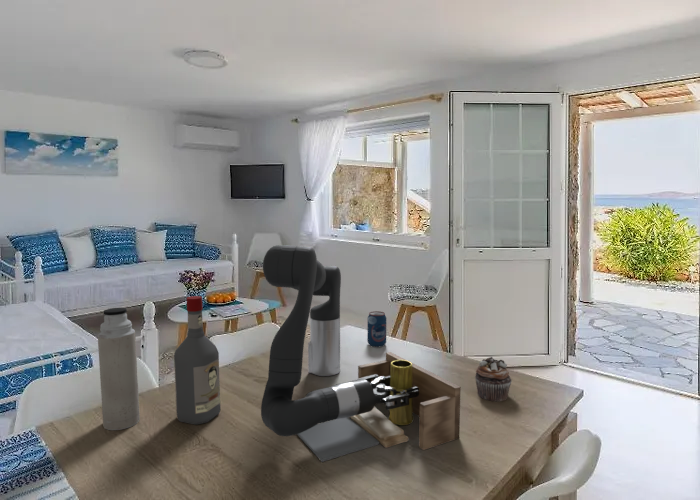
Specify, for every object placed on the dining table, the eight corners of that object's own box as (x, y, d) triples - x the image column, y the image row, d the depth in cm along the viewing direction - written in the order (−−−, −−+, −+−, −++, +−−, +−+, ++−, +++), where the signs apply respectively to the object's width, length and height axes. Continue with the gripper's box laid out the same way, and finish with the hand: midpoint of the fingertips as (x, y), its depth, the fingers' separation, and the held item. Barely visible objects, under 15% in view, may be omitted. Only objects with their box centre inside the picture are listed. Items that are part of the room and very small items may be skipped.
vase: (413, 414, 118) (413, 359, 116) (413, 426, 112) (414, 368, 110) (388, 413, 118) (389, 358, 117) (388, 425, 112) (388, 367, 111)
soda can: (373, 349, 169) (373, 316, 167) (364, 343, 175) (364, 312, 174) (389, 346, 172) (390, 314, 171) (380, 341, 178) (380, 310, 177)
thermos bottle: (121, 412, 119) (115, 304, 116) (147, 417, 116) (141, 306, 113) (95, 427, 111) (87, 311, 108) (121, 432, 109) (115, 314, 106)
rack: (396, 459, 98) (396, 403, 96) (334, 408, 121) (334, 363, 120) (459, 438, 106) (460, 386, 105) (390, 394, 130) (390, 352, 129)
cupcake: (468, 395, 129) (469, 360, 128) (484, 385, 136) (485, 351, 135) (501, 406, 123) (502, 369, 121) (516, 394, 130) (518, 359, 129)
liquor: (171, 420, 115) (165, 299, 111) (195, 405, 123) (191, 292, 120) (202, 427, 112) (197, 302, 108) (225, 410, 120) (221, 295, 117)
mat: (321, 461, 97) (321, 459, 97) (295, 432, 109) (295, 430, 109) (379, 444, 104) (379, 441, 103) (347, 418, 116) (347, 416, 116)
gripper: (366, 394, 100) (426, 379, 108) (335, 372, 113) (390, 361, 121) (366, 427, 101) (425, 410, 109) (335, 402, 114) (390, 389, 122)
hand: (407, 384), depth 115 cm, fingers open, 8 cm apart
